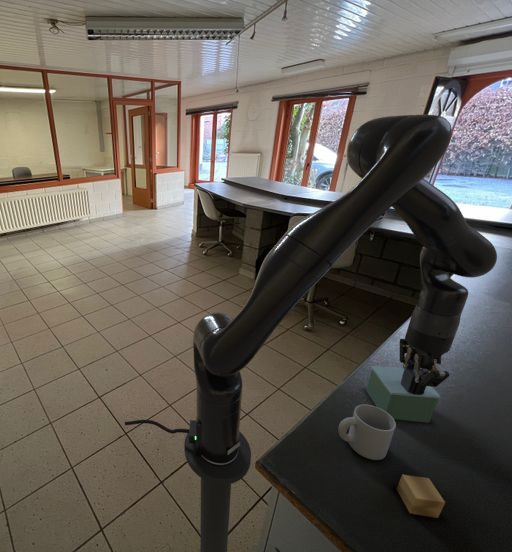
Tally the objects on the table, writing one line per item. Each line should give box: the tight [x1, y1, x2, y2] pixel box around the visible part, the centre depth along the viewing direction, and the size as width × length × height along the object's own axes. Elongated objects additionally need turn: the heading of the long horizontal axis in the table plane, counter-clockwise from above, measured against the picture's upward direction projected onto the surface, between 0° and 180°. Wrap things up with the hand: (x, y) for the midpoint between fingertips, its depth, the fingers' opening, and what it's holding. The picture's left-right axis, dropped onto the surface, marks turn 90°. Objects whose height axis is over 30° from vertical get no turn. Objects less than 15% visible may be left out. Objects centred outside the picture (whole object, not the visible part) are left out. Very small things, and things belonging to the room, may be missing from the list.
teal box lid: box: [370, 365, 442, 400], centre depth 74 cm, size 10×10×5 cm
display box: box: [365, 368, 439, 424], centre depth 76 cm, size 10×10×8 cm
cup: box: [337, 403, 397, 461], centre depth 66 cm, size 7×10×9 cm
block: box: [396, 474, 446, 519], centre depth 55 cm, size 4×4×4 cm
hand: (411, 388), depth 71 cm, fingers closed on teal box lid, 3 cm apart
